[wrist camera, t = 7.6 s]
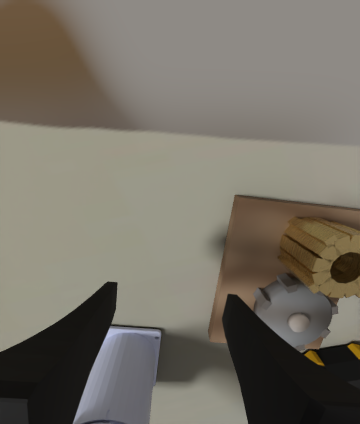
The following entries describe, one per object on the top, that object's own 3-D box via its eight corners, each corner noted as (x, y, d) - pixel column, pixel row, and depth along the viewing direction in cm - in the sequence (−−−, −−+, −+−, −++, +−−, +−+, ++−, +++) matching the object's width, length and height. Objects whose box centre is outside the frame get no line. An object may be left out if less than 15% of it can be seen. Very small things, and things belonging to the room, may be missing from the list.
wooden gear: (322, 268, 21) (367, 300, 16) (274, 263, 21) (304, 294, 16) (339, 220, 20) (394, 239, 15) (287, 214, 19) (325, 232, 14)
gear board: (310, 338, 26) (335, 371, 22) (208, 331, 25) (214, 363, 21) (359, 209, 21) (402, 220, 17) (235, 194, 20) (249, 203, 16)
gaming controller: (376, 385, 29) (382, 333, 26) (422, 437, 23) (436, 378, 21) (276, 401, 29) (273, 352, 26) (299, 456, 24) (298, 400, 21)
